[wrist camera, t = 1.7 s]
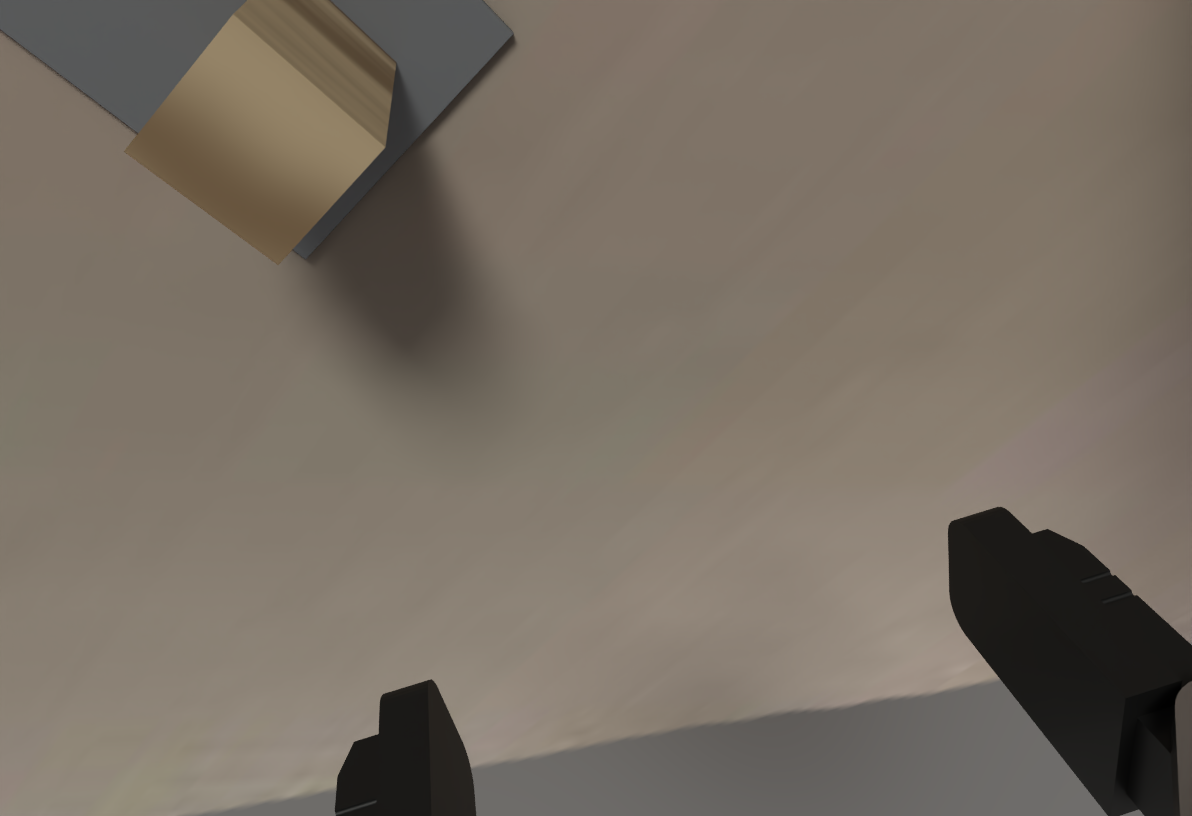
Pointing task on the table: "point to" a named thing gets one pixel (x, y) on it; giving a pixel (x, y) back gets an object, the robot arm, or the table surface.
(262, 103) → the oak block
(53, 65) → the mat
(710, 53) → the table surface
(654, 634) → the table surface
